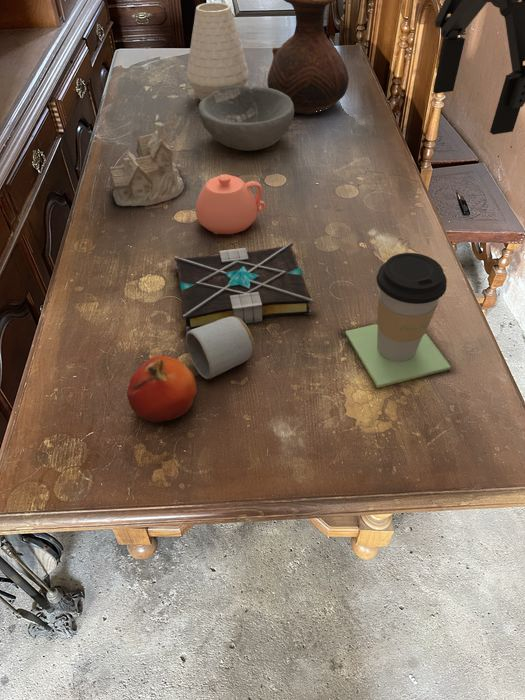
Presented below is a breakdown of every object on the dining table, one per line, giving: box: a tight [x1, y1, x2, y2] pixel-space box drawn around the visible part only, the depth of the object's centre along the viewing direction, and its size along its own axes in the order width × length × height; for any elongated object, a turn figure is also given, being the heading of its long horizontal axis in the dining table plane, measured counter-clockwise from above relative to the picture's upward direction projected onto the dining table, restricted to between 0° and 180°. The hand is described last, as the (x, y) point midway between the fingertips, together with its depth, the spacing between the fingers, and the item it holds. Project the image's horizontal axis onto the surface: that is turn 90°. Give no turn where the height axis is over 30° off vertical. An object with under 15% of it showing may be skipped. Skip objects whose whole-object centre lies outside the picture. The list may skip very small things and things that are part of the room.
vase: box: [185, 2, 250, 101], centre depth 146 cm, size 17×17×23 cm
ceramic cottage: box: [109, 121, 185, 207], centre depth 115 cm, size 16×16×15 cm
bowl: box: [197, 85, 295, 151], centre depth 132 cm, size 23×22×10 cm
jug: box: [266, 0, 350, 115], centre depth 140 cm, size 22×22×30 cm
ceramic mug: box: [185, 316, 255, 380], centre depth 81 cm, size 11×8×8 cm
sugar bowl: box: [195, 173, 266, 235], centre depth 106 cm, size 12×14×10 cm
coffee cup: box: [375, 252, 448, 362], centre depth 78 cm, size 9×9×15 cm
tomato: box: [126, 355, 198, 423], centre depth 74 cm, size 9×9×8 cm
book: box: [174, 241, 314, 333], centre depth 93 cm, size 22×17×5 cm
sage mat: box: [344, 323, 452, 389], centre depth 84 cm, size 12×12×1 cm
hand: (470, 110), depth 70 cm, fingers open, 13 cm apart
